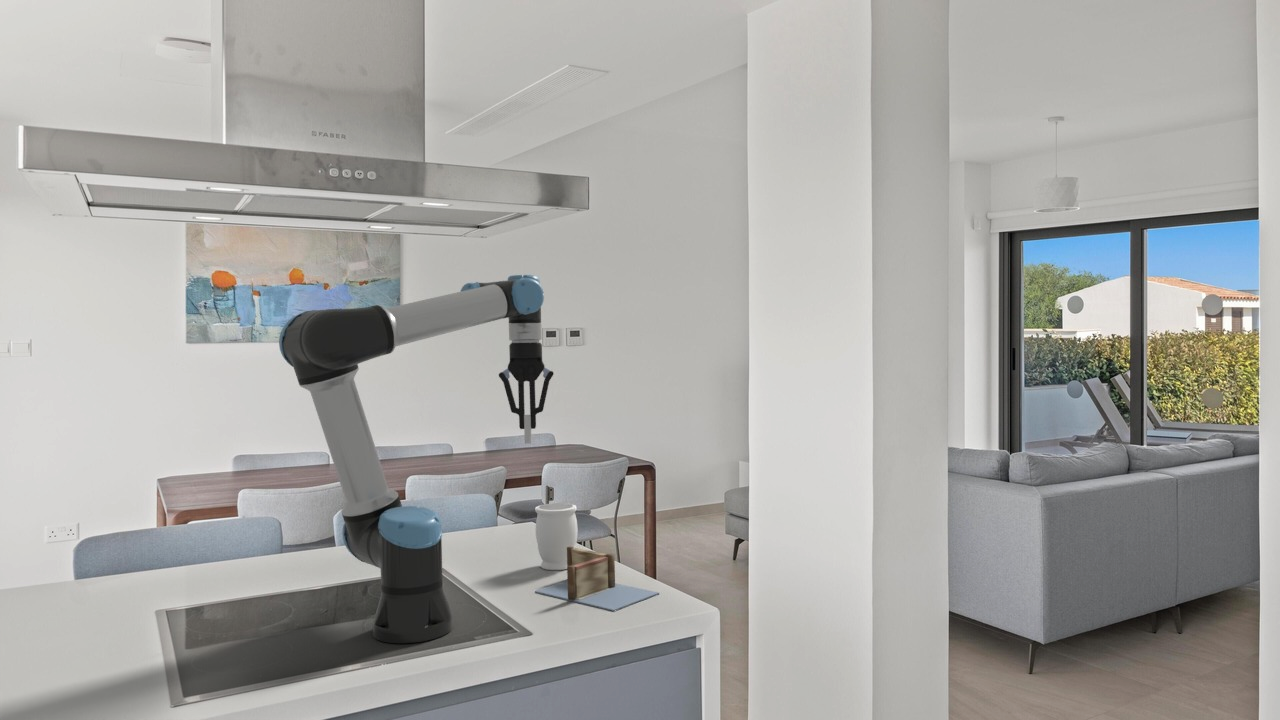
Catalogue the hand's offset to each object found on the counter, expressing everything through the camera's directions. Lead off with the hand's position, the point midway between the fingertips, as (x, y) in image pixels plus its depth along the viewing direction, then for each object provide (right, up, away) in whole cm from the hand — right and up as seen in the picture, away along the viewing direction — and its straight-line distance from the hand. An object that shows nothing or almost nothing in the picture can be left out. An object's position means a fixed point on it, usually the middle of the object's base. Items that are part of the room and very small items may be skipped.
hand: (528, 442), depth 204 cm
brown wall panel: (+15, -32, -3) cm, 35 cm away
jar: (+6, -32, +13) cm, 35 cm away
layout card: (+16, -32, -11) cm, 38 cm away
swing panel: (+15, -32, -12) cm, 37 cm away
